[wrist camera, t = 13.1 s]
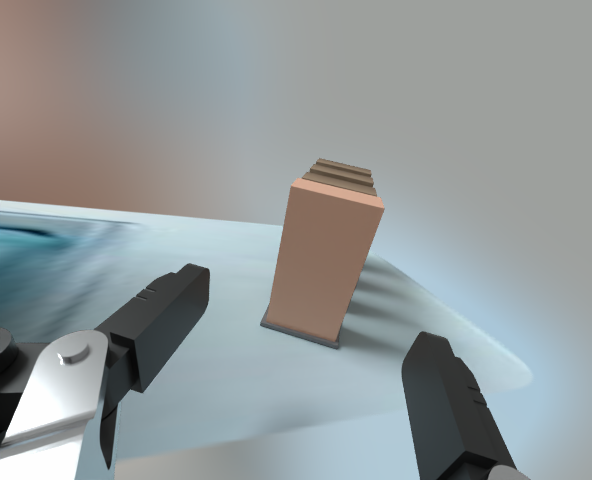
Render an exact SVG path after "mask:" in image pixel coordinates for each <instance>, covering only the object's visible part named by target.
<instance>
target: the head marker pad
mask: <svg viewBox="0 0 592 480" xmlns="http://www.w3.org/2000/svg"><path fill="white" fill-rule="evenodd" d="M268 309H269V306H268V308H267V310H266V312H265V314H264V316H263V318H262V321H261V324H260V325H261V326H264V327H267V328H270V329H274V330H277V331H280V332H283V333H286V334H290V335H293V336H296V337H299V338H303V339H306V340H309V341H312V342H315V343H319V344H322V345H325V346H328V347H332V348H335V349H337V348H338V344H339V332H340V330H339V332H338V335H337V338H336V340H335V342H333V341H330V340H327V339H323V338H320V337H316V336H313V335H310V334H306V333H303V332H299V331H296V330H293V329H289V328H286V327H282V326H279V325H276V324H272V323H269V322H266V320H267V314H268Z"/></svg>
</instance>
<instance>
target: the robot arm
mask: <svg viewBox="0 0 592 480" xmlns="http://www.w3.org/2000/svg"><path fill="white" fill-rule="evenodd" d="M209 281H210V271H209V269H208V268H204V267H201V266H197V265H194V264H190V263H189V264H187V265H185V266H184V267H183V268H182V269H181V270H180V271H179V272H177V273H172V272H171V273H168V274H166V275H164V276H161V277H159V278H157V279H156V280H154V281H153V282H152V283H151V284H149V285H148V286H147V287H146V289H145V290H144V289H143V290H142V291H141V292H140V293H138V294H137V295H136V297H133V298H132V299H131V300H130V301H129V302H127V303H126V304H125V305H124V306H122V307H121V308H120V309H119V310H117V311H116V312H115V313H114V314H113V315H111V316H110V317H109V318H108V319H106V320H105V321H104V322H103V323H101V324H100V325H99V326H98V327H96V328H95V329H94V330H82V331H77V332H73V333H70V334H67V335H65V336H62V337H60V338H58V339H57V340H55V341H54V342H52V343H15V341H14V339H13V337H12V335H11V333H10V332H9V331H8V330H7V329H4V328H0V480H114V470H115V461H116V451H117V442H118V432H119V422H120V412H121V400H122V398H123V397H124V396H125V395H126V394H127V392H128V391H129V390H130V389H131V390H134V391H137V392H140V393H143V392H144V391H145V390H146V388H147V387H148V386H149V384H150V383H151V382H152V380H153V379H154V378H155V377H156V375H157V374H158V373H159V371H160V370H161V369H162V367H163V366H164V365H165V364H166V362H167V361H168V360H169V358H170V357H171V356H172V354H173V353H174V352H175V351H176V349H177V348H178V347H179V345H180V344H181V343H182V341H183V340H184V339H185V338H186V336H187V335H188V334H189V332H190V331H191V330H192V328H193V327H194V326H195V325H196V323H197V322H198V321H199V319H200V318H201V317H202V315H203V314H204V312H205V310H206V308H207V305H208V301H209ZM402 381H403V387H404V393H405V398H406V404H407V409H408V415H409V420H410V425H411V431H412V437H413V442H414V448H415V454H416V459H417V465H418V470H419V476H420V480H530V479H529V478H528V477H526V476H525V475H524V474H522V473H521V472H519V471H518V470H517V468H516V466H515V464H514V462H513V460H512V458H511V455H510V454H509V451H508V449H507V447H506V445H505V442H504V440H503V438H502V436H501V434H500V432H499V429H498V427H497V425H496V423H495V421H494V419H493V416H492V414H491V412H490V410H489V408H487V403H486V401H485V399H484V397H483V395H482V393H480V388H479V386H478V384H477V382H476V379H475V377H474V375H473V373H472V372H471V371H470V370H469V368H468V367H467V366H466V365H465V363H464V362H463V361H462V360H461V358H458V357H455V356H454V353H453V351H452V348H451V346H450V344H449V342H448V340H447V339H446V338H444V337H441V336H437V335H434V334H431V333H427V332H423V331H422V332H420V333H419V335H418V336H417V338H416V340H415V341H414V343H413V345H412V347H411V348H410V350H409V352H408V353H407V355H406V357H405V359H404V361H403V364H402Z"/></svg>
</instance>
